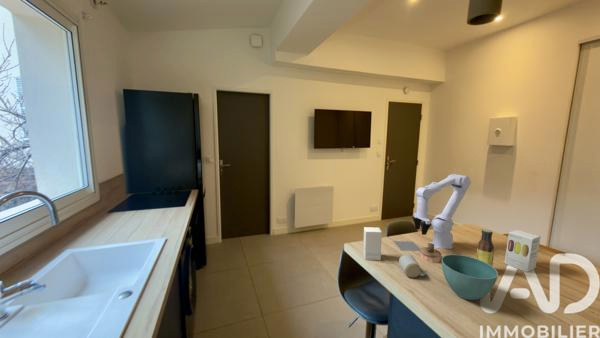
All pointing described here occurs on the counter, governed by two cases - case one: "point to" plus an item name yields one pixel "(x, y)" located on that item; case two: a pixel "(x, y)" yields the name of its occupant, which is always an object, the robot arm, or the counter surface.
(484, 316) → the counter surface
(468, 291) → the deep teal bowl
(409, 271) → the ceramic mug
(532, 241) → the supplement box
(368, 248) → the skincare box
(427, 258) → the bowl
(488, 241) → the sauce bottle
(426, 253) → the lid
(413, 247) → the mat
